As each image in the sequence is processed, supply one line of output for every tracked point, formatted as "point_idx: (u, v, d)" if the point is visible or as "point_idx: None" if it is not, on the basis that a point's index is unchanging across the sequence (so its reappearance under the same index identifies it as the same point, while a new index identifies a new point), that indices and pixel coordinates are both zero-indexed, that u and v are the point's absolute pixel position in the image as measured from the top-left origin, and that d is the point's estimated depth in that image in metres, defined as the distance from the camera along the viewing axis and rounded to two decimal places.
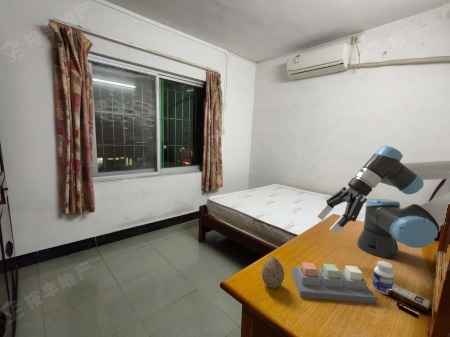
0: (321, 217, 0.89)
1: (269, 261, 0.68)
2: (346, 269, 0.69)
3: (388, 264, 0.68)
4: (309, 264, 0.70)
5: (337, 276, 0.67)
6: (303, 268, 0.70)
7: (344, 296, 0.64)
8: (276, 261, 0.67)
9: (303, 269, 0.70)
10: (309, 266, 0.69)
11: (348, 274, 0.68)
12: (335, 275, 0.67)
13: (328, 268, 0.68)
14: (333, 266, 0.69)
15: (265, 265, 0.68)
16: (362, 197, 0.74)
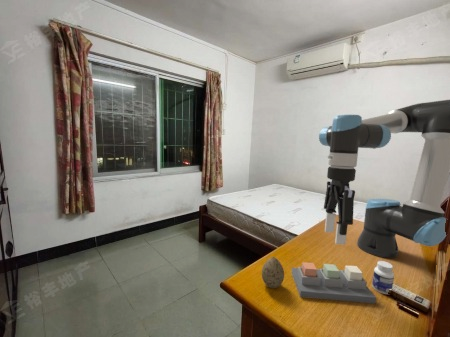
0: (330, 230, 0.71)
1: (269, 261, 0.68)
2: (346, 269, 0.69)
3: (388, 264, 0.68)
4: (309, 264, 0.70)
5: (337, 276, 0.67)
6: (303, 268, 0.70)
7: (344, 296, 0.64)
8: (276, 261, 0.67)
9: (303, 269, 0.70)
10: (309, 266, 0.69)
11: (348, 274, 0.68)
12: (335, 275, 0.67)
13: (328, 268, 0.68)
14: (333, 266, 0.69)
15: (265, 265, 0.68)
16: (348, 193, 0.59)
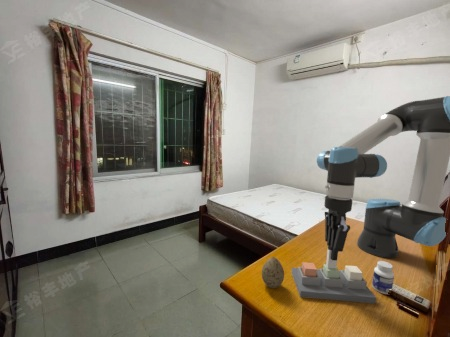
0: None
1: (269, 261, 0.68)
2: (346, 269, 0.69)
3: (388, 264, 0.68)
4: (309, 264, 0.70)
5: (337, 276, 0.67)
6: (303, 268, 0.70)
7: (344, 296, 0.64)
8: (276, 261, 0.67)
9: (303, 269, 0.70)
10: (309, 266, 0.69)
11: (348, 274, 0.68)
12: (335, 276, 0.67)
13: (328, 268, 0.68)
14: None
15: (265, 265, 0.68)
16: (343, 228, 0.61)
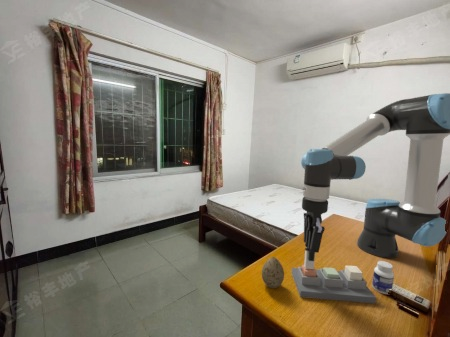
0: None
1: (269, 261, 0.68)
2: (346, 269, 0.69)
3: (388, 264, 0.68)
4: None
5: None
6: (303, 271, 0.70)
7: (344, 296, 0.64)
8: (276, 261, 0.67)
9: (303, 272, 0.70)
10: (308, 269, 0.69)
11: (348, 274, 0.68)
12: None
13: (328, 272, 0.68)
14: (333, 270, 0.70)
15: (265, 265, 0.68)
16: (318, 230, 0.61)
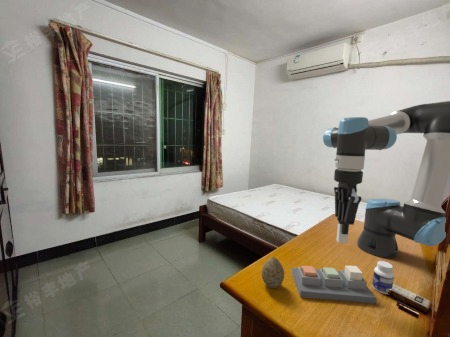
0: None
1: (269, 261, 0.68)
2: (346, 269, 0.69)
3: (388, 264, 0.68)
4: (309, 268, 0.70)
5: None
6: (303, 272, 0.70)
7: (344, 296, 0.64)
8: (276, 261, 0.67)
9: (303, 273, 0.70)
10: (308, 270, 0.69)
11: (348, 274, 0.68)
12: None
13: (328, 272, 0.68)
14: (333, 270, 0.70)
15: (265, 265, 0.68)
16: (354, 200, 0.60)
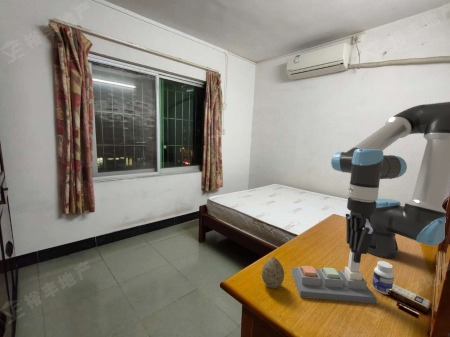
0: None
1: (269, 261, 0.68)
2: (346, 270, 0.69)
3: (388, 264, 0.68)
4: (309, 268, 0.70)
5: None
6: (303, 272, 0.70)
7: (344, 296, 0.64)
8: (276, 261, 0.67)
9: (303, 273, 0.70)
10: (308, 270, 0.69)
11: (348, 275, 0.68)
12: None
13: (328, 272, 0.68)
14: (333, 270, 0.70)
15: (265, 265, 0.68)
16: (369, 231, 0.60)
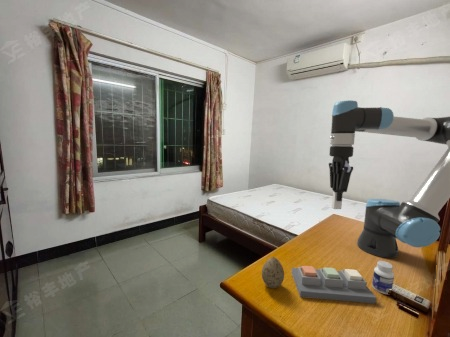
0: None
1: (269, 261, 0.68)
2: (346, 273, 0.70)
3: (388, 264, 0.68)
4: (309, 268, 0.70)
5: None
6: (303, 272, 0.70)
7: (344, 296, 0.64)
8: (276, 261, 0.67)
9: (303, 273, 0.70)
10: (308, 270, 0.69)
11: (348, 278, 0.68)
12: None
13: (328, 272, 0.68)
14: (333, 270, 0.70)
15: (265, 265, 0.68)
16: (347, 169, 0.71)
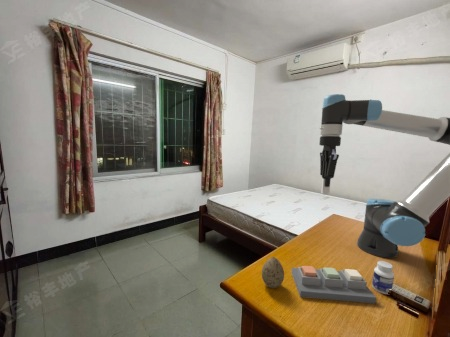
0: None
1: (269, 261, 0.68)
2: (346, 273, 0.70)
3: (388, 264, 0.68)
4: (309, 268, 0.70)
5: None
6: (303, 272, 0.70)
7: (344, 296, 0.64)
8: (276, 261, 0.67)
9: (303, 273, 0.70)
10: (308, 270, 0.69)
11: (348, 278, 0.68)
12: None
13: (328, 272, 0.68)
14: (333, 270, 0.70)
15: (265, 265, 0.68)
16: (333, 156, 0.79)
